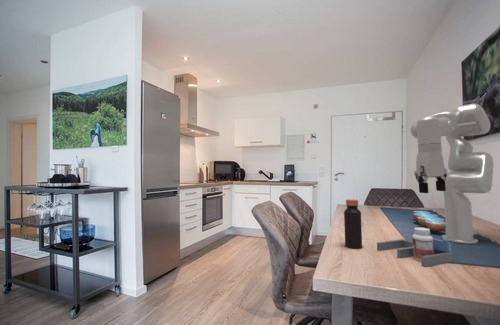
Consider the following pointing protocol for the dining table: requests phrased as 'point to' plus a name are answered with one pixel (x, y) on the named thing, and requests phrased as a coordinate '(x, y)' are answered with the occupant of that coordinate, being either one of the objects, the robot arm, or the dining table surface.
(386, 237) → the dining table surface
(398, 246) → the grey blue bar frame
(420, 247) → the pill bottle
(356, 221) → the vinegar
